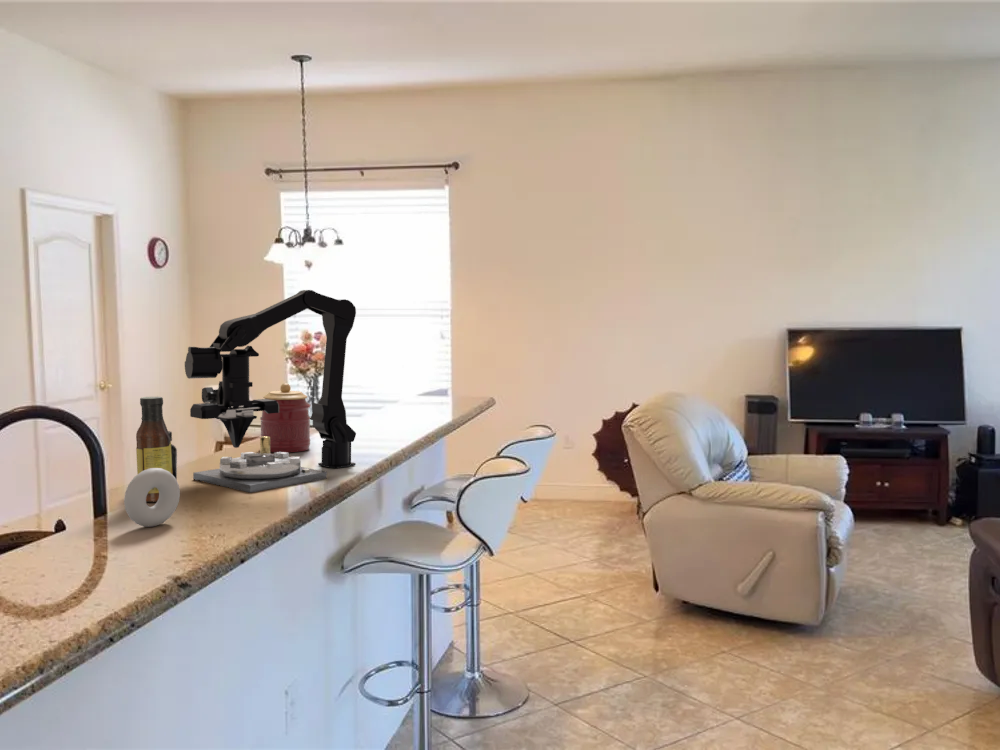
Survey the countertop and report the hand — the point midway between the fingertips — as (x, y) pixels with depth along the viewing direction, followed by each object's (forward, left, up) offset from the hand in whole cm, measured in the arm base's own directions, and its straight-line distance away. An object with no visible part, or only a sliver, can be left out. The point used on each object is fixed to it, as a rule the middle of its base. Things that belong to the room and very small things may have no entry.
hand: (236, 447), depth 187 cm
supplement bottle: (+20, +2, -7) cm, 21 cm away
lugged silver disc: (-1, +7, -5) cm, 8 cm away
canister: (-30, -21, -7) cm, 38 cm away
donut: (+36, +27, -7) cm, 45 cm away
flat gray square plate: (-1, +7, -6) cm, 10 cm away
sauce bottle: (+25, +9, -7) cm, 27 cm away
